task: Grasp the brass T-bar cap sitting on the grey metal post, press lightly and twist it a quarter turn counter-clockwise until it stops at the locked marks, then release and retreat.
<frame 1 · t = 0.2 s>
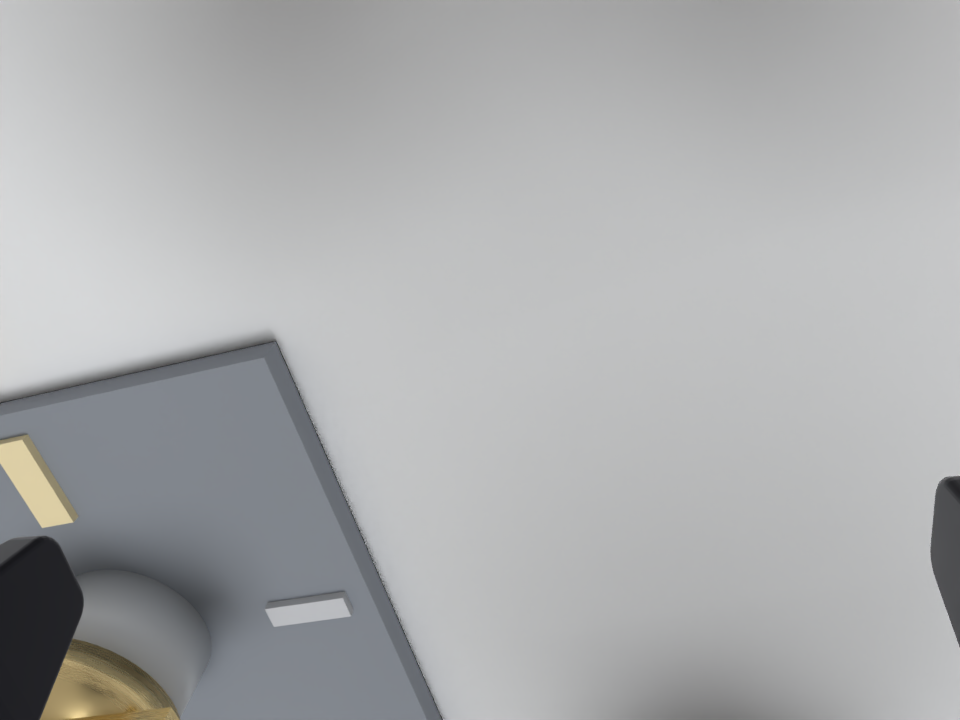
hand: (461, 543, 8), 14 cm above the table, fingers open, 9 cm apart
post base: (146, 610, 30), on the table
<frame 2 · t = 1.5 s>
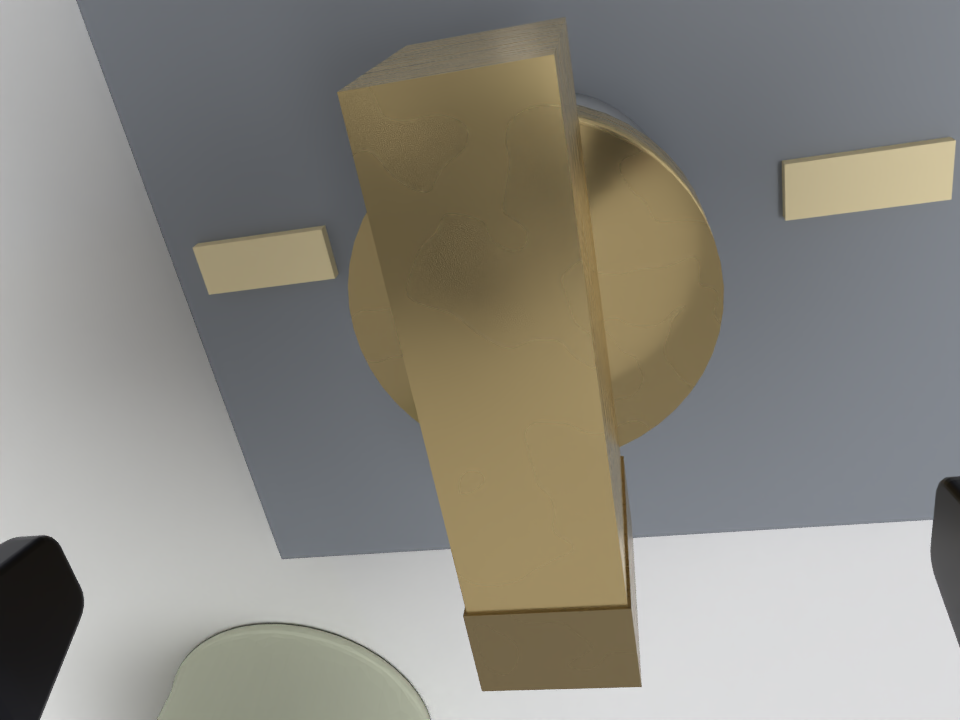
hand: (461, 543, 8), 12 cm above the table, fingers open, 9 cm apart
post base: (547, 207, 19), on the table
can: (305, 715, 29), on the table
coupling: (526, 348, 13), point 7 cm above the table, hinge at 0.0°
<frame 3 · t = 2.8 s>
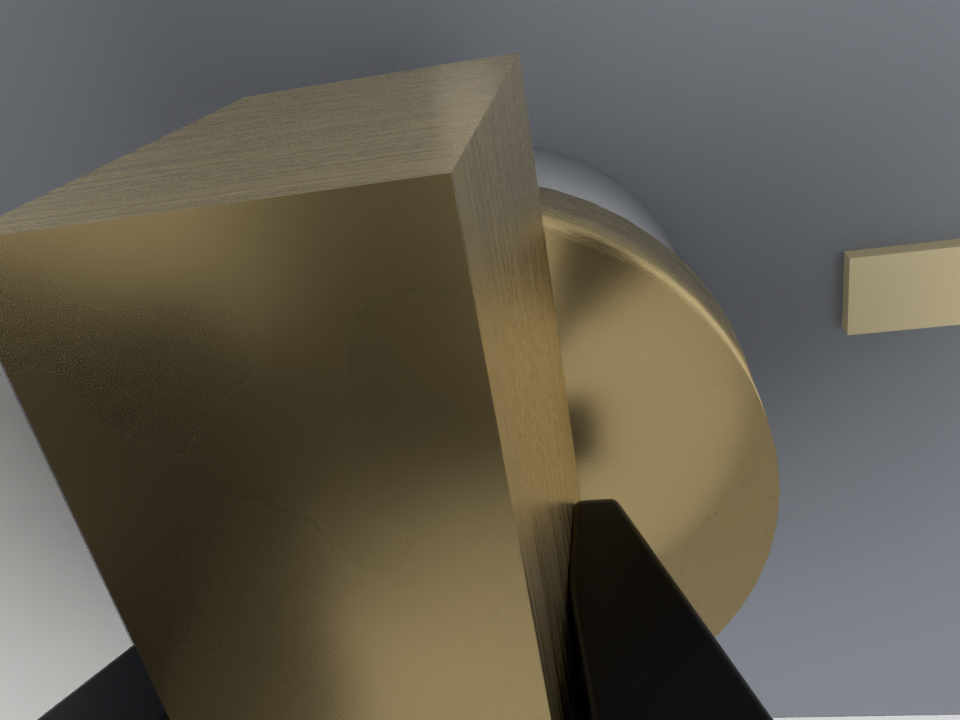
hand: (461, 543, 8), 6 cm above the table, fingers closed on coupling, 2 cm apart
post base: (512, 299, 14), on the table
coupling: (455, 599, 8), point 7 cm above the table, hinge at 0.0°, touching gripper
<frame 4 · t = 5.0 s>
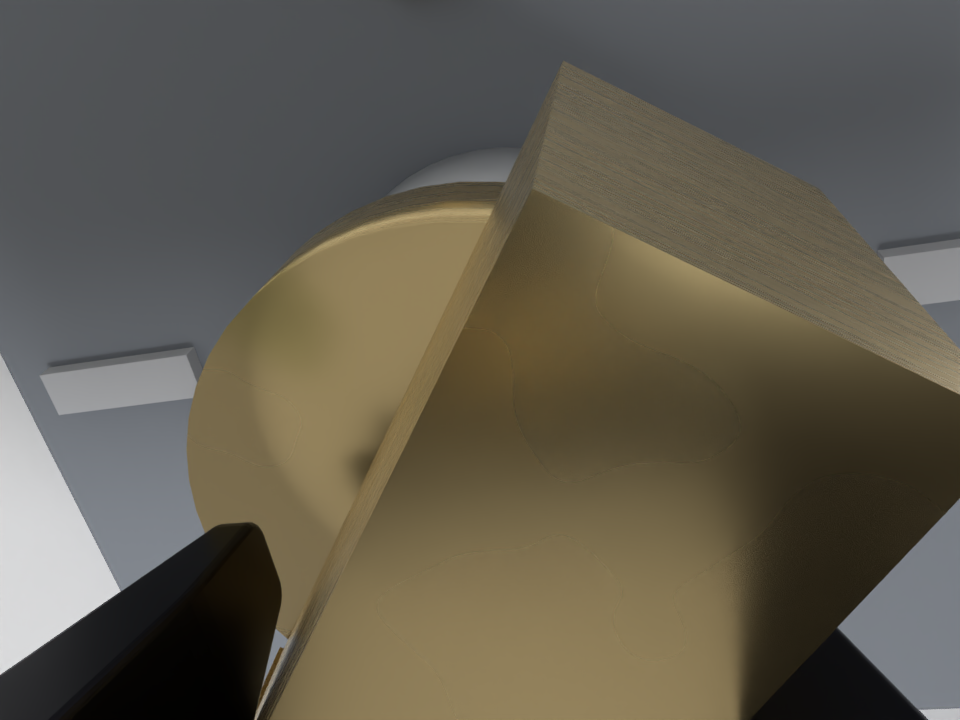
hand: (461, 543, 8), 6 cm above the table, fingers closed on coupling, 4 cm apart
post base: (517, 300, 14), on the table
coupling: (450, 598, 8), point 7 cm above the table, hinge at 54.2°, touching gripper
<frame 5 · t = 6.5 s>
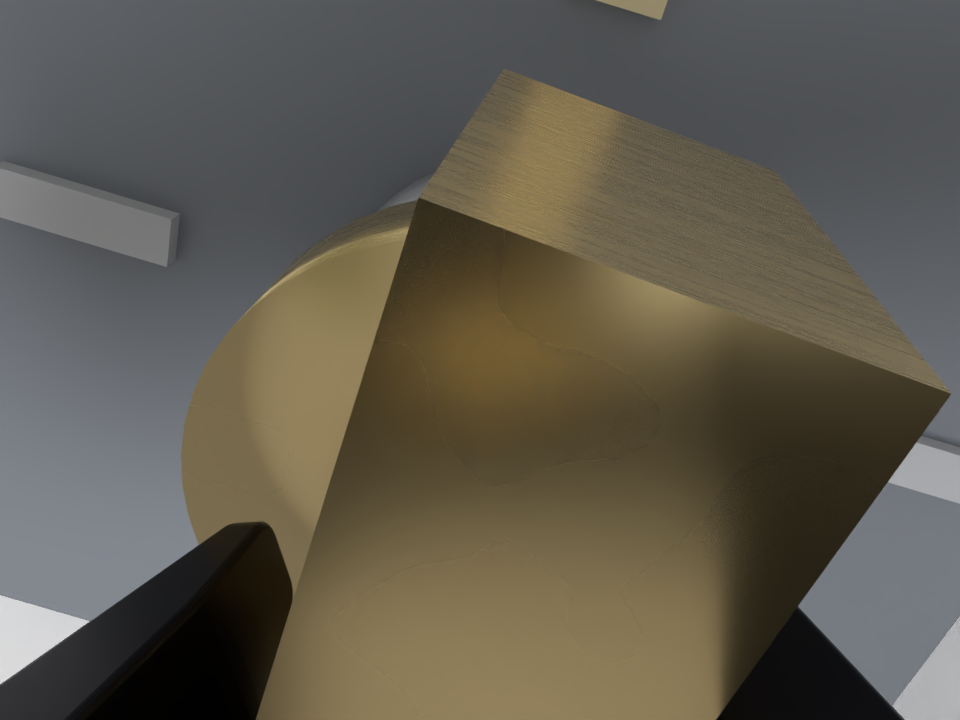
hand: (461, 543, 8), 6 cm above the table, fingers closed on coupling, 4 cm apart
post base: (513, 310, 14), on the table
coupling: (447, 613, 8), point 7 cm above the table, hinge at 86.4°, touching gripper
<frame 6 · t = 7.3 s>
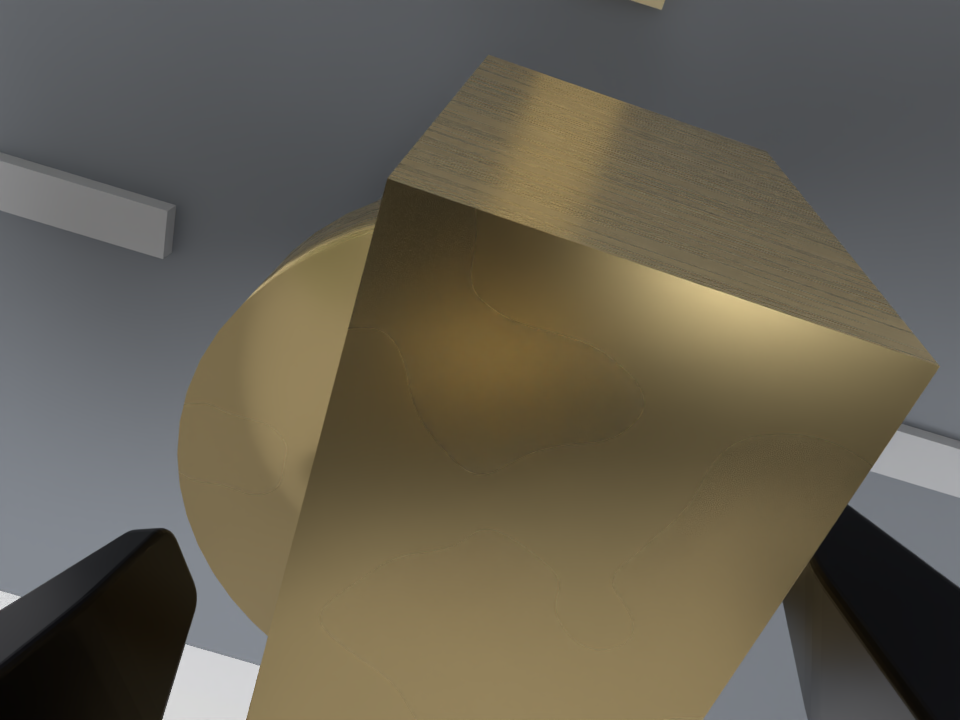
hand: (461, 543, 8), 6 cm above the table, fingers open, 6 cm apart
post base: (512, 303, 14), on the table
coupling: (446, 608, 8), point 7 cm above the table, hinge at 88.0°
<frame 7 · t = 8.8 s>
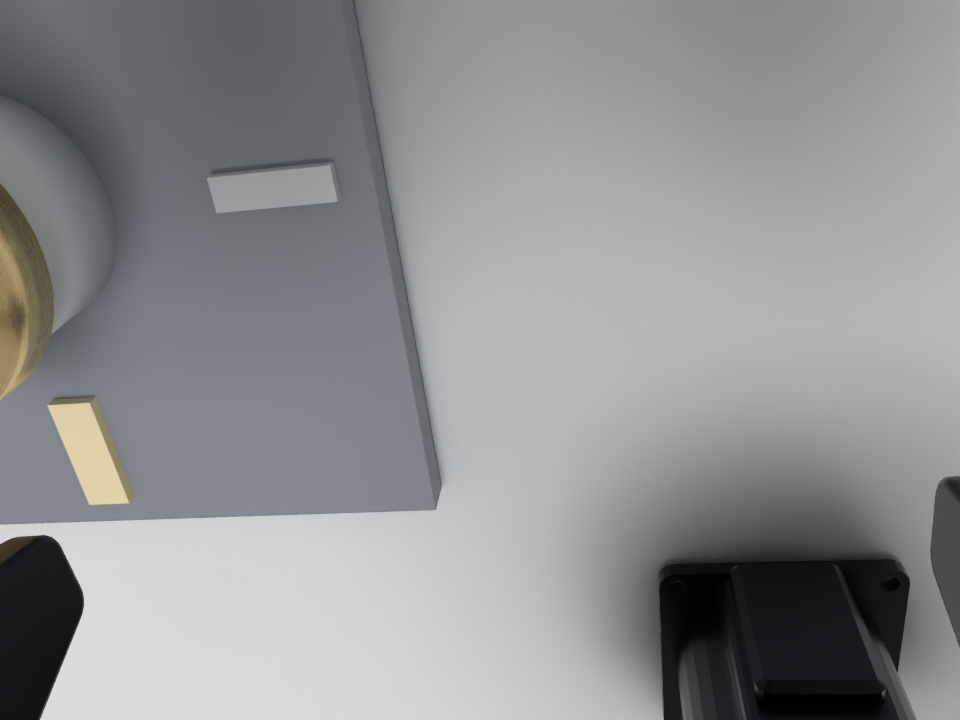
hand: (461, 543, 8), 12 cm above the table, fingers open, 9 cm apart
post base: (25, 200, 20), on the table
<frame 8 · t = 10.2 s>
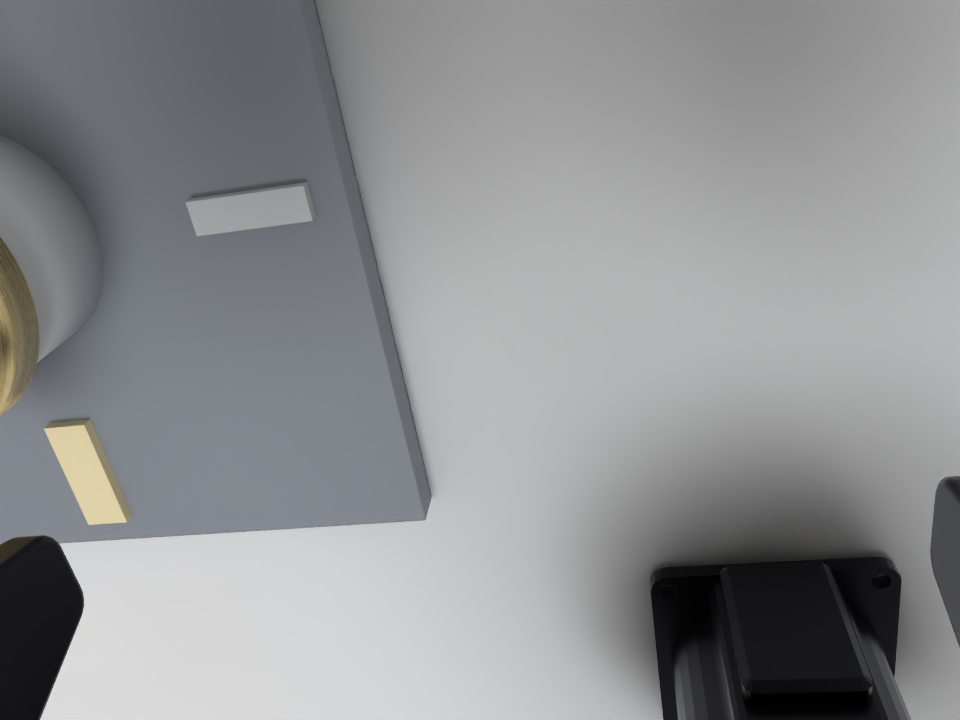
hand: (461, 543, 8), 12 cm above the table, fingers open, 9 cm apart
post base: (16, 230, 21), on the table
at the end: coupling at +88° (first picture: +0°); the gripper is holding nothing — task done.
